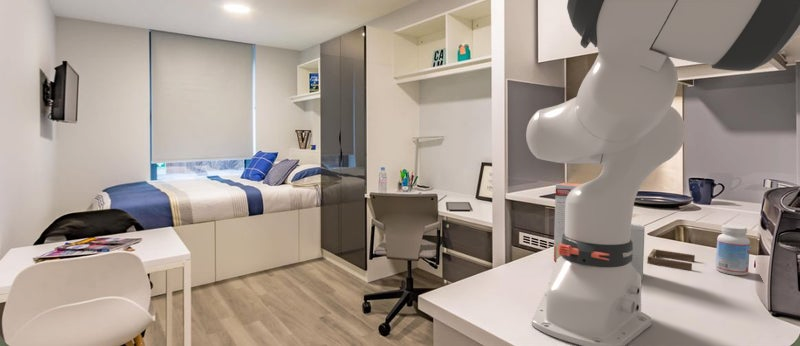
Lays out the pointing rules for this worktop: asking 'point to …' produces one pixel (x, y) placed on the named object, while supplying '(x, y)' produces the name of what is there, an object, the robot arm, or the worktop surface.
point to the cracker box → (560, 213)
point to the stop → (671, 262)
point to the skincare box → (638, 247)
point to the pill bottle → (733, 250)
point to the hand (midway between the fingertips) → (667, 19)
